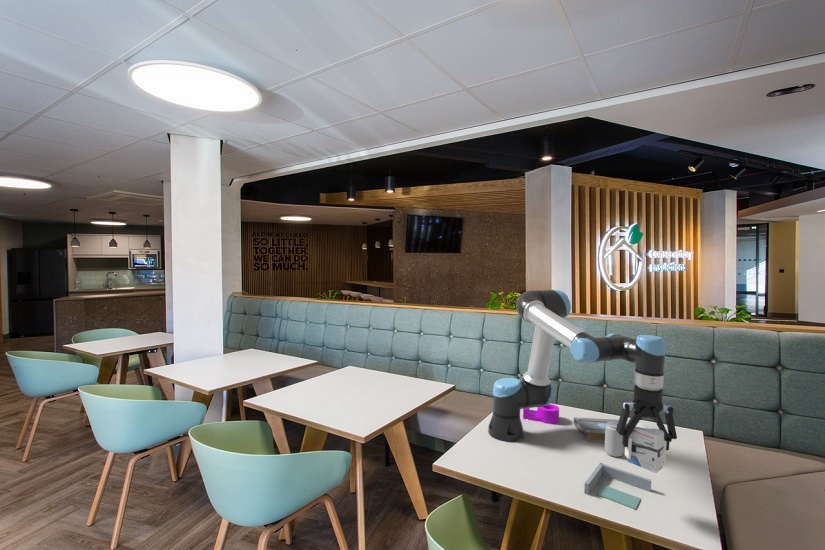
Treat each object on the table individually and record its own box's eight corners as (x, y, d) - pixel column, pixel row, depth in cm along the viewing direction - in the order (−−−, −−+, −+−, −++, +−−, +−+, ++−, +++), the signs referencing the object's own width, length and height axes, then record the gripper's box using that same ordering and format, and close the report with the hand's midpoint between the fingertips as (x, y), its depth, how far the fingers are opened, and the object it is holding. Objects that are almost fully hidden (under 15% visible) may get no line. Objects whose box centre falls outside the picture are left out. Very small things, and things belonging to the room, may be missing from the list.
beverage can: (624, 458, 150) (626, 428, 150) (607, 456, 152) (608, 426, 151) (619, 450, 157) (620, 421, 156) (602, 449, 158) (603, 420, 157)
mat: (597, 494, 127) (597, 493, 127) (603, 485, 132) (603, 484, 132) (635, 509, 120) (635, 508, 120) (640, 499, 125) (640, 498, 125)
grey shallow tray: (620, 427, 179) (621, 417, 179) (637, 445, 163) (638, 433, 163) (573, 425, 181) (573, 414, 181) (585, 442, 165) (585, 430, 165)
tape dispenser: (559, 417, 189) (559, 405, 189) (558, 425, 180) (559, 412, 180) (525, 412, 195) (525, 400, 195) (522, 420, 186) (523, 407, 186)
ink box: (626, 461, 122) (627, 425, 121) (633, 456, 125) (634, 420, 124) (656, 474, 115) (657, 435, 115) (663, 468, 118) (664, 430, 118)
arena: (584, 493, 128) (584, 482, 128) (599, 472, 141) (600, 462, 140) (639, 514, 117) (640, 503, 117) (650, 490, 130) (651, 479, 130)
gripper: (615, 388, 117) (611, 461, 118) (694, 393, 114) (690, 468, 115) (606, 380, 124) (603, 449, 125) (680, 384, 121) (676, 455, 122)
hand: (644, 458), depth 120 cm, fingers closed on ink box, 9 cm apart
